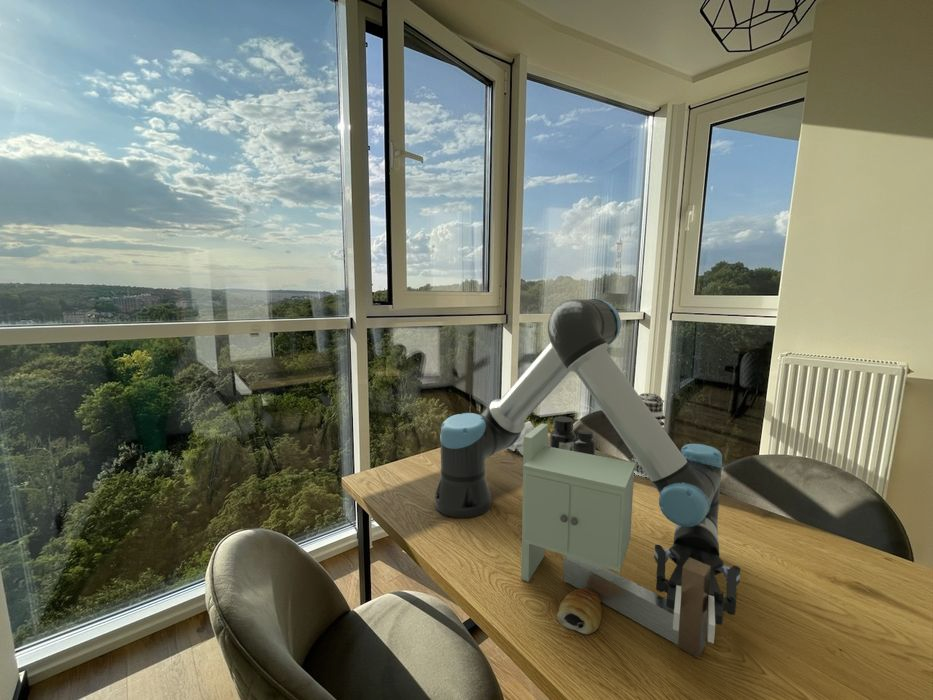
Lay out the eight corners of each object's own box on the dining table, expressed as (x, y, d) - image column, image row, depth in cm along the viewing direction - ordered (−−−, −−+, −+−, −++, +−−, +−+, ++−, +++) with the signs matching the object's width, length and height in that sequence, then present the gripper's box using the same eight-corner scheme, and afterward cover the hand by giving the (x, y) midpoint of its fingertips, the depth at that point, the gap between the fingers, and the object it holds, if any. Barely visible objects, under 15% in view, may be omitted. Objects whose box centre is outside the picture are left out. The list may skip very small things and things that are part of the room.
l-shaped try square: (562, 580, 80) (562, 514, 77) (571, 572, 82) (571, 508, 79) (699, 658, 62) (704, 576, 60) (705, 646, 65) (710, 566, 62)
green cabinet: (512, 592, 77) (514, 443, 73) (538, 553, 89) (541, 423, 85) (617, 632, 68) (625, 464, 64) (630, 583, 79) (637, 438, 76)
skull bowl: (534, 458, 137) (519, 424, 141) (507, 469, 147) (494, 437, 150) (552, 450, 145) (537, 417, 148) (525, 460, 154) (512, 430, 157)
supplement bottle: (595, 472, 130) (597, 435, 128) (573, 470, 131) (574, 434, 129) (593, 464, 136) (594, 429, 135) (572, 462, 138) (573, 427, 136)
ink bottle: (564, 458, 141) (565, 424, 139) (544, 451, 148) (544, 419, 146) (581, 452, 147) (582, 419, 145) (561, 445, 154) (562, 414, 152)
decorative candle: (659, 468, 133) (664, 392, 130) (663, 480, 124) (668, 399, 121) (629, 464, 136) (633, 390, 132) (630, 476, 127) (635, 397, 124)
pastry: (572, 591, 77) (573, 572, 77) (609, 606, 74) (610, 586, 73) (554, 624, 70) (555, 604, 69) (594, 642, 66) (595, 621, 65)
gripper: (746, 575, 75) (763, 678, 55) (647, 547, 83) (629, 628, 63) (750, 536, 74) (768, 626, 54) (649, 512, 82) (631, 583, 62)
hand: (693, 627), depth 58 cm, fingers closed on l-shaped try square, 4 cm apart
